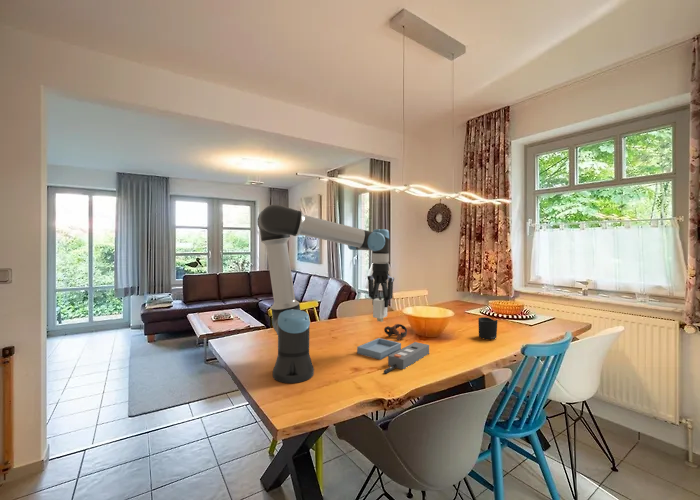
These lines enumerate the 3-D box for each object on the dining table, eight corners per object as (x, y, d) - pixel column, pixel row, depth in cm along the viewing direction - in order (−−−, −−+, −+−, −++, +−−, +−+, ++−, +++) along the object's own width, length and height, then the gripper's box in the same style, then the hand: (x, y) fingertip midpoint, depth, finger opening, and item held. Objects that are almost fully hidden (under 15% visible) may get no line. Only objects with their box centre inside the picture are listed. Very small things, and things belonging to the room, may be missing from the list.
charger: (380, 323, 142) (380, 297, 142) (372, 321, 145) (373, 296, 145) (387, 320, 147) (387, 295, 147) (380, 319, 150) (380, 294, 149)
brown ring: (402, 335, 174) (407, 324, 171) (403, 348, 166) (409, 336, 162) (381, 330, 174) (386, 318, 170) (382, 342, 165) (387, 330, 161)
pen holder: (478, 339, 167) (479, 320, 167) (477, 334, 176) (477, 316, 176) (498, 341, 164) (498, 322, 164) (495, 336, 173) (496, 318, 173)
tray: (380, 359, 135) (380, 352, 135) (357, 353, 143) (357, 346, 143) (400, 349, 149) (401, 343, 149) (378, 344, 157) (378, 338, 157)
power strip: (392, 376, 119) (392, 364, 119) (376, 371, 123) (377, 359, 123) (429, 353, 144) (429, 343, 144) (415, 350, 148) (415, 340, 148)
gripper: (401, 263, 143) (400, 314, 144) (370, 261, 154) (369, 309, 154) (392, 264, 137) (391, 317, 138) (360, 262, 148) (360, 312, 148)
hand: (380, 313), depth 146 cm, fingers closed on charger, 4 cm apart
